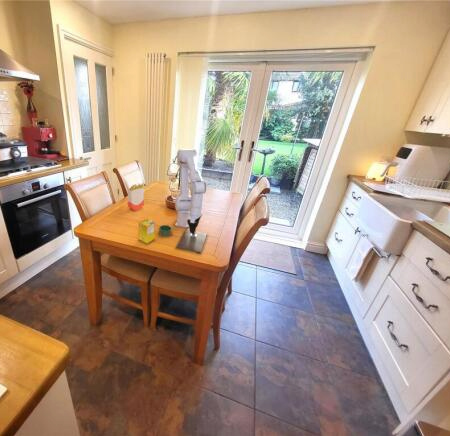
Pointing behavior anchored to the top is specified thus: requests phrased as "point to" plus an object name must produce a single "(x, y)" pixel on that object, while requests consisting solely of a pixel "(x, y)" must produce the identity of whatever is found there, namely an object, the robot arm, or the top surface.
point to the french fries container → (136, 197)
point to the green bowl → (165, 230)
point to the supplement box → (146, 231)
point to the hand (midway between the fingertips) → (193, 229)
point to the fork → (193, 237)
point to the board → (192, 242)
